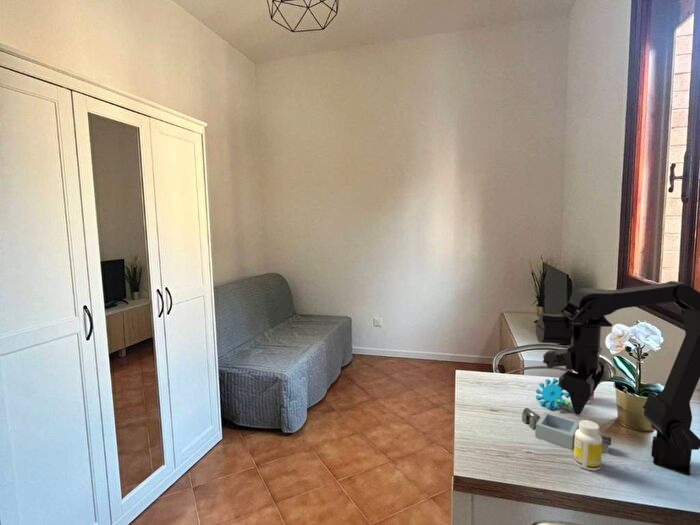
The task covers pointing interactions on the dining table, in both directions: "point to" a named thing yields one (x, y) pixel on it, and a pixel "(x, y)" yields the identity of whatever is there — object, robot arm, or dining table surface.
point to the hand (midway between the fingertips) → (581, 406)
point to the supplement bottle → (588, 446)
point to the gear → (552, 395)
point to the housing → (557, 430)
